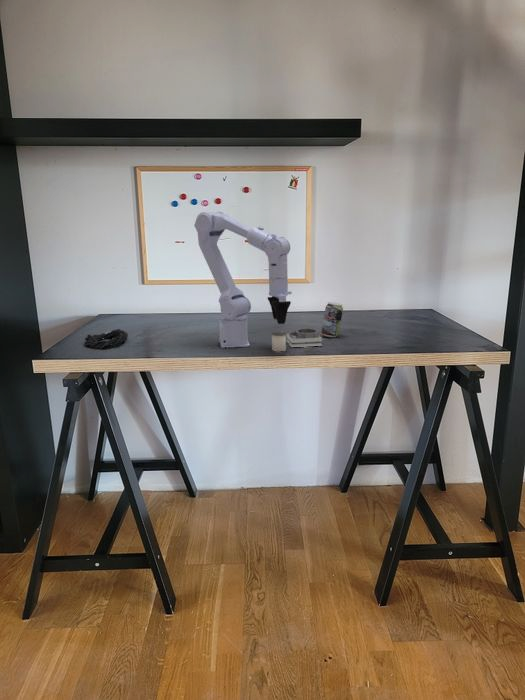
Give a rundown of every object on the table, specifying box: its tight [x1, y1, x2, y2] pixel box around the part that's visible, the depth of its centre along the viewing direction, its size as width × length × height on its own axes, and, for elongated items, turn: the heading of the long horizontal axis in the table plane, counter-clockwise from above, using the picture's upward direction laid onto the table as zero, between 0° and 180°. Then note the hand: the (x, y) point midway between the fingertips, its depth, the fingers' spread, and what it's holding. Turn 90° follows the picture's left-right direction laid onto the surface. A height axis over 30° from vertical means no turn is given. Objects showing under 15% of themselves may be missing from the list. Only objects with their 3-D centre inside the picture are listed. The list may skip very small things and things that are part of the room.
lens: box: [271, 330, 287, 352], centre depth 163 cm, size 5×5×6 cm
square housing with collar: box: [286, 327, 323, 348], centre depth 170 cm, size 10×8×4 cm
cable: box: [84, 328, 129, 350], centre depth 175 cm, size 17×14×4 cm
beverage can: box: [321, 301, 344, 338], centre depth 180 cm, size 6×7×12 cm
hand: (279, 321), depth 162 cm, fingers open, 7 cm apart
